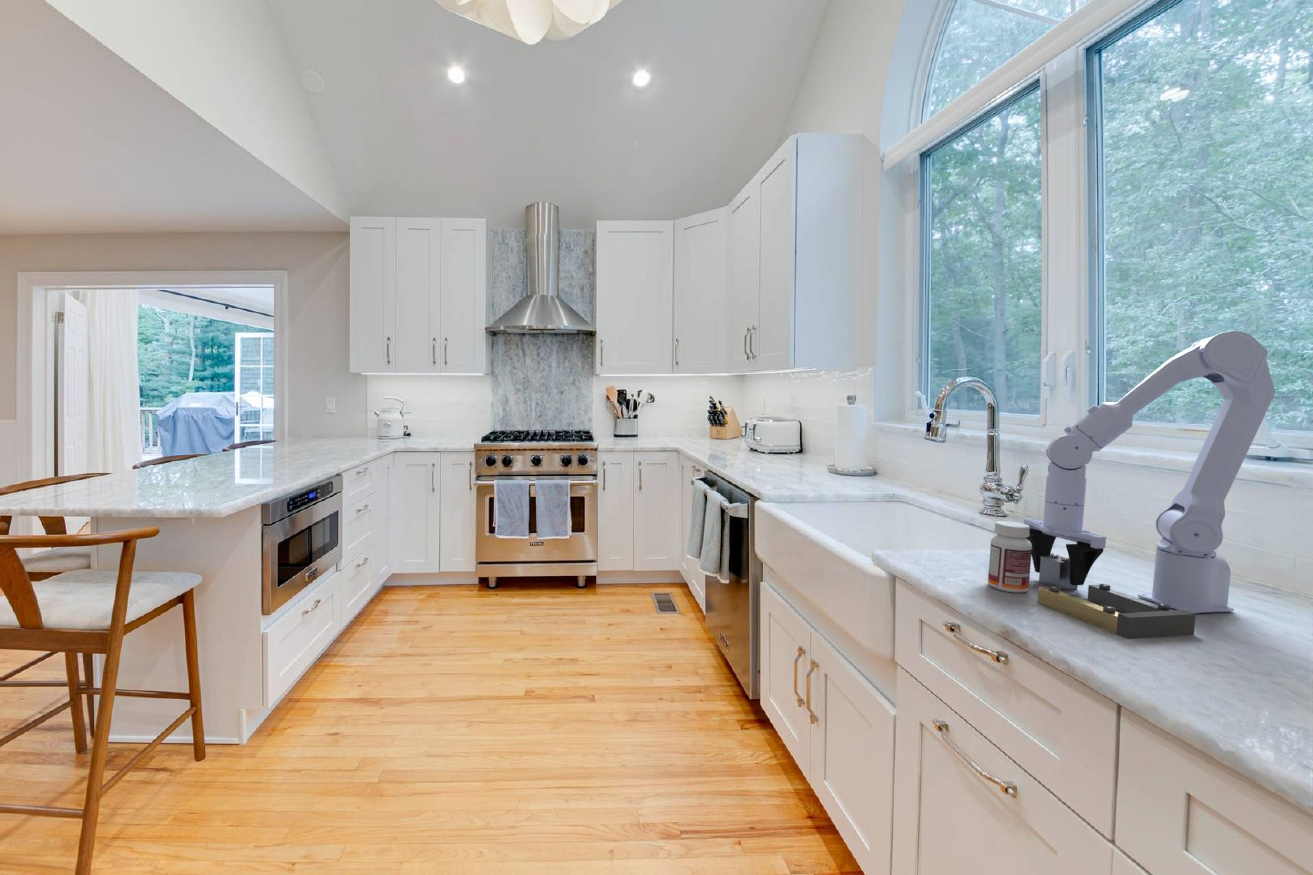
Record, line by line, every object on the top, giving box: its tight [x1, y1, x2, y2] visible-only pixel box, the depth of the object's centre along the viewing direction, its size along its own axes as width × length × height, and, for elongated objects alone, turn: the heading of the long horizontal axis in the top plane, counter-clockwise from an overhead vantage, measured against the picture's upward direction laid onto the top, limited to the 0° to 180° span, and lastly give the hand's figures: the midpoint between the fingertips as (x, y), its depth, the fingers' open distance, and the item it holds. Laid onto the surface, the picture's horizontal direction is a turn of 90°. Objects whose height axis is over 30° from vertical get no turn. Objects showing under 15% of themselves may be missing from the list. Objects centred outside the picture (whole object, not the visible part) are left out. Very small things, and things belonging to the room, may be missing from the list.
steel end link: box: [1086, 583, 1175, 613], centre depth 89 cm, size 2×13×3 cm, turn 12°
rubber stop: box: [1115, 609, 1197, 640], centre depth 81 cm, size 12×2×3 cm, turn 102°
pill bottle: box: [987, 520, 1032, 594], centre depth 100 cm, size 6×6×11 cm
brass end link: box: [1037, 586, 1119, 635], centre depth 87 cm, size 2×13×3 cm, turn 12°
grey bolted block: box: [1038, 553, 1079, 591], centre depth 102 cm, size 4×4×6 cm
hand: (1058, 578), depth 103 cm, fingers open, 7 cm apart
